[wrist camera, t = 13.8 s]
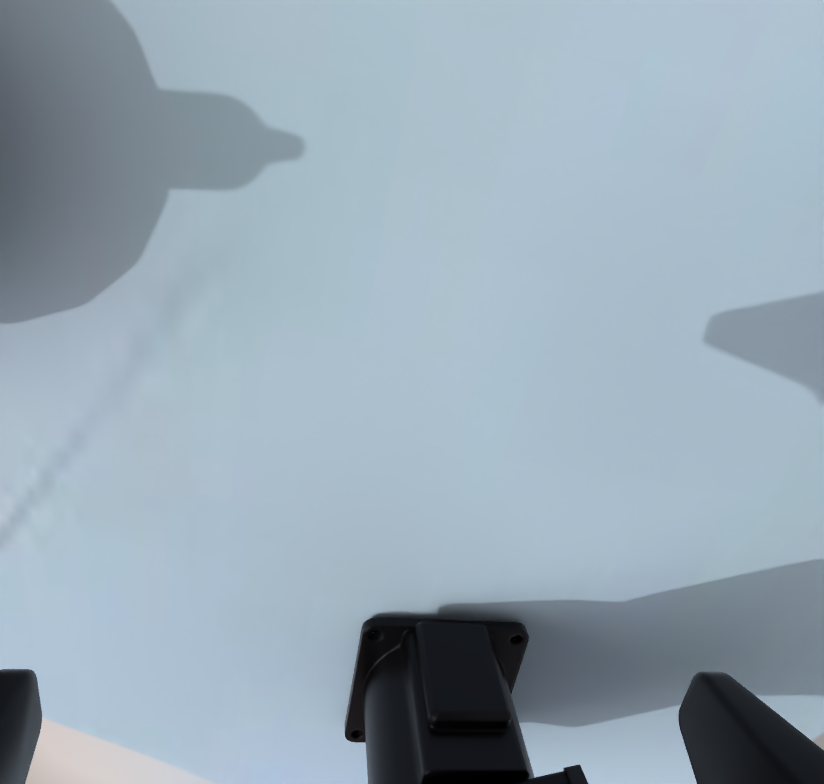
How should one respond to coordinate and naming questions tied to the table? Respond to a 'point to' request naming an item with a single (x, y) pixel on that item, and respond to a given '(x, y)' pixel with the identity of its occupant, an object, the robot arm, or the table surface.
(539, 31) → the table surface
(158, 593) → the table surface
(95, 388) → the table surface
